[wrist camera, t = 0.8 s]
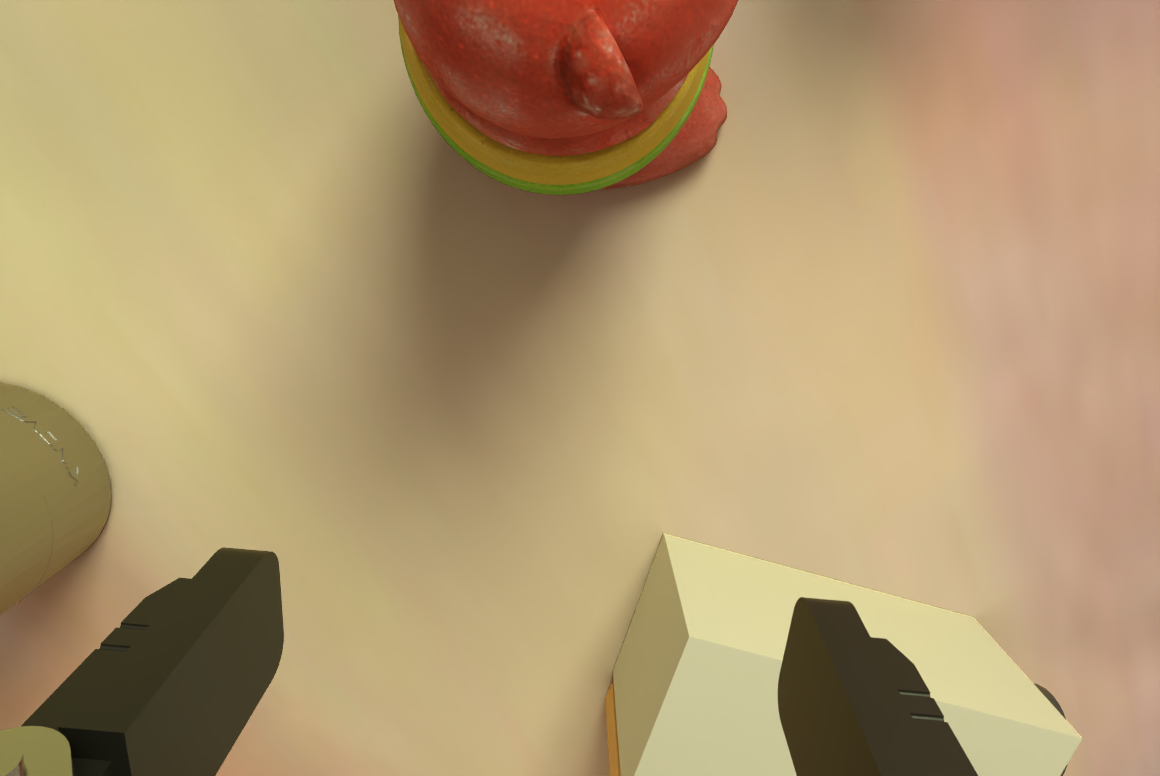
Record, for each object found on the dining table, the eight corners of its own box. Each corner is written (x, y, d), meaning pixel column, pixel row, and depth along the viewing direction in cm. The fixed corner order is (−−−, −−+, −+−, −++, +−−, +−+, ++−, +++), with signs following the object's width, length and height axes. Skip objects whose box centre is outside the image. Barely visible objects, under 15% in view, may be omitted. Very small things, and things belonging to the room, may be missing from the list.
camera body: (612, 671, 36) (624, 821, 28) (663, 533, 34) (692, 650, 26) (931, 751, 38) (1033, 917, 30) (999, 624, 36) (1130, 762, 27)
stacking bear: (738, 143, 29) (965, 99, 12) (511, 243, 31) (430, 331, 13) (638, -144, 27) (752, -712, 10) (391, -22, 28) (97, -338, 11)
